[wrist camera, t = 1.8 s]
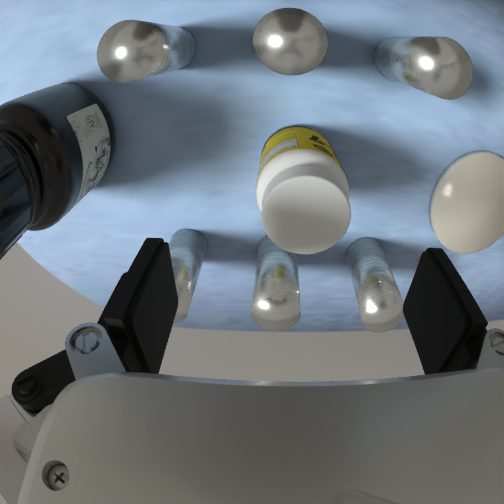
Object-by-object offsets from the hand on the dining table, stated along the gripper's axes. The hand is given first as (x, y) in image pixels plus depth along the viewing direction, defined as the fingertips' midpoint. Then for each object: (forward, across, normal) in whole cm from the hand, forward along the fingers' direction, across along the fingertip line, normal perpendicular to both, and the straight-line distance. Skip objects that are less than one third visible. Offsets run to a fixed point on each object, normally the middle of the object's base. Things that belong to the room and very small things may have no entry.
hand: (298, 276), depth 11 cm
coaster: (+12, -16, +1) cm, 20 cm away
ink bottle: (+12, +16, -3) cm, 21 cm away
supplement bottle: (+12, -1, -1) cm, 12 cm away
